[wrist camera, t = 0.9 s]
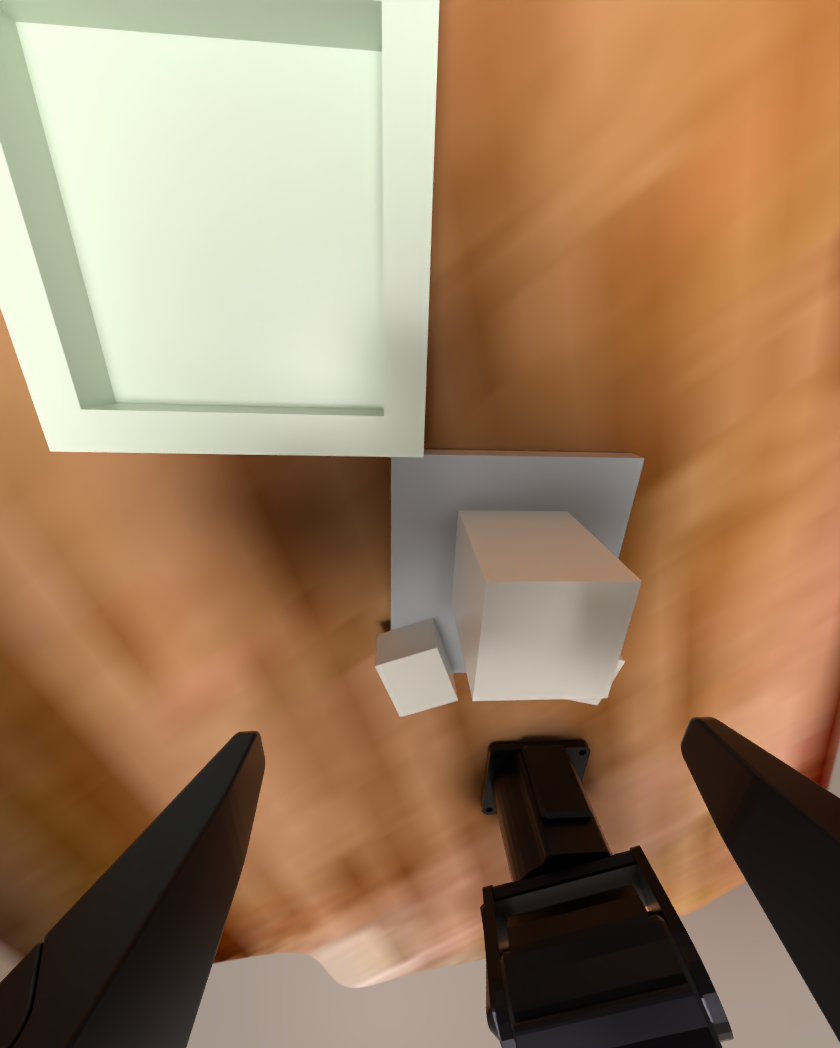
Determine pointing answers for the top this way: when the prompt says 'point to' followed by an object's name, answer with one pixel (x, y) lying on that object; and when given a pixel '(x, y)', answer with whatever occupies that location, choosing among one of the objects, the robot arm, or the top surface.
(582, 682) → the large white cube
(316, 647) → the top surface
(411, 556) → the slate board
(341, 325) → the bin
